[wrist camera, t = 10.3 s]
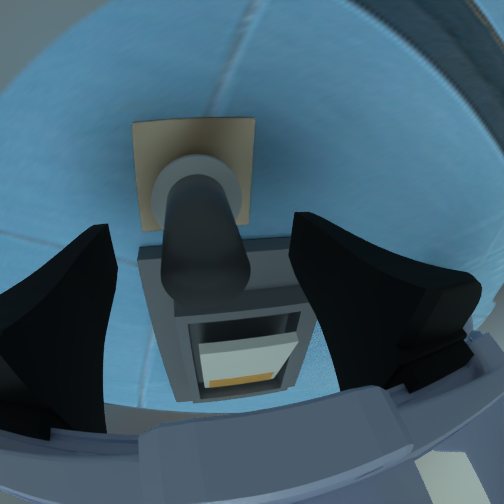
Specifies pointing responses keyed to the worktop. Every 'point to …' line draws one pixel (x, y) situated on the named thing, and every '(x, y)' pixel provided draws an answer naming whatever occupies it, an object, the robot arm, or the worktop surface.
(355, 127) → the worktop surface
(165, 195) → the dark round-ended cylinder
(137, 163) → the pad
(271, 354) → the rocker switch
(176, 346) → the switch panel
